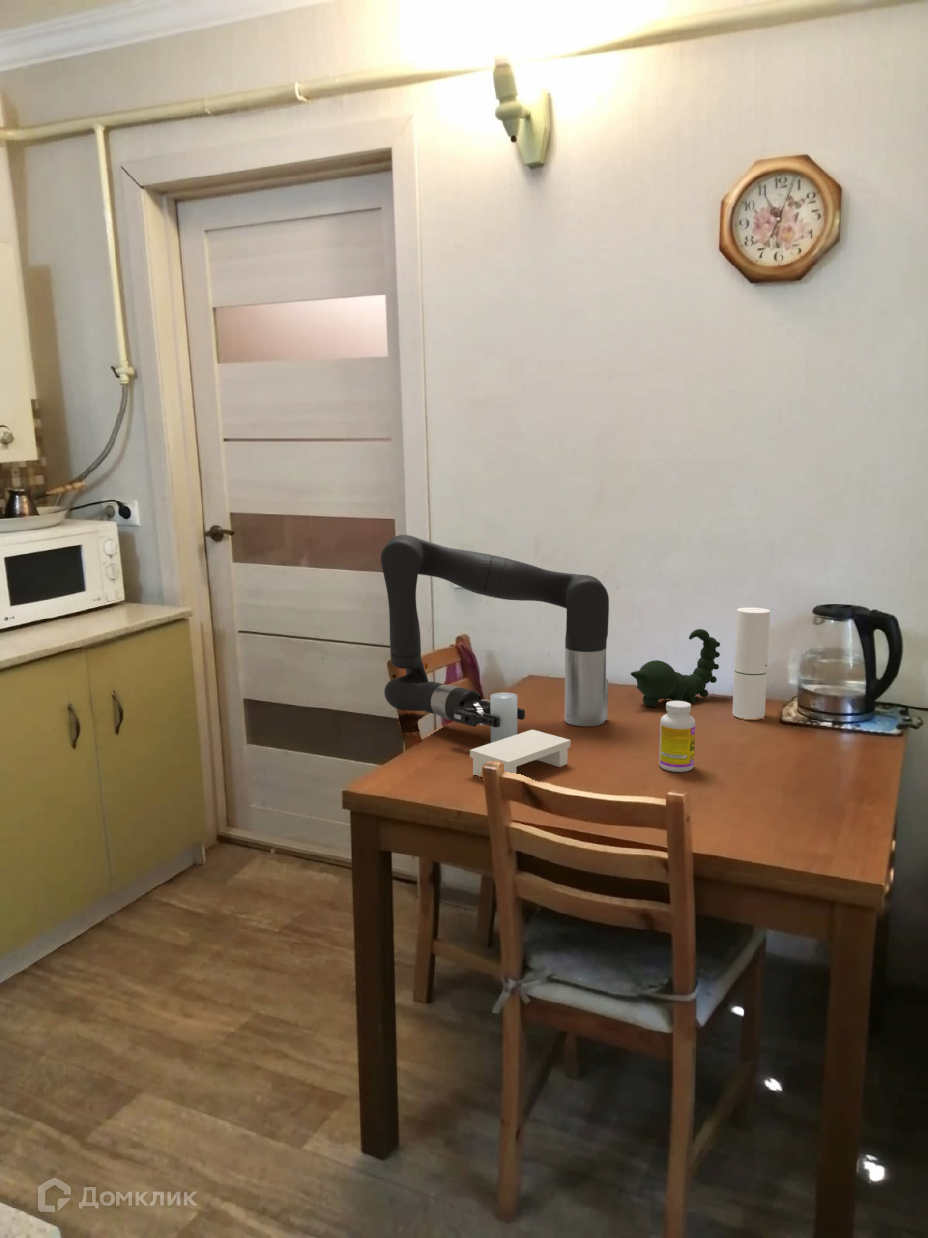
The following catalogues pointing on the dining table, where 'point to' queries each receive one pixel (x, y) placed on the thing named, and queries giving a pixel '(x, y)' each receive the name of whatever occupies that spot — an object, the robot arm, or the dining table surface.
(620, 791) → the dining table surface
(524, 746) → the white riser stand
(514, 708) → the white rounded cylinder
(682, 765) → the supplement bottle
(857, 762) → the dining table surface
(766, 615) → the cylindrical container
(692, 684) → the toy figurine
